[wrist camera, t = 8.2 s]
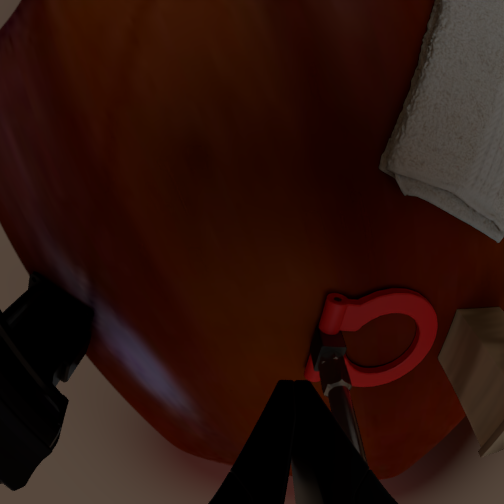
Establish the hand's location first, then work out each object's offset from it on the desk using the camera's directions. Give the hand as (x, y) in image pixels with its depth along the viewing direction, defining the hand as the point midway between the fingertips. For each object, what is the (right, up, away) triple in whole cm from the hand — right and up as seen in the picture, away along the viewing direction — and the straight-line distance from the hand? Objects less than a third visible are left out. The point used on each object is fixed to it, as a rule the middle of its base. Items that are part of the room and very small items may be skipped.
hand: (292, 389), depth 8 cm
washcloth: (+14, +14, +7) cm, 21 cm away
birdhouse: (+17, -1, +13) cm, 21 cm away
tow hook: (+8, -2, +14) cm, 16 cm away
